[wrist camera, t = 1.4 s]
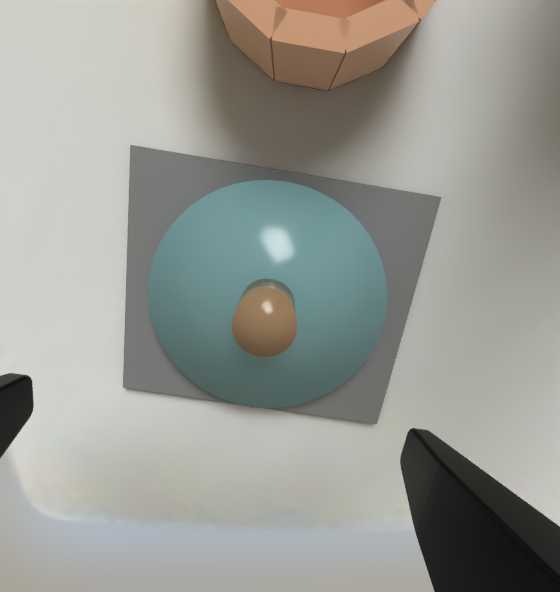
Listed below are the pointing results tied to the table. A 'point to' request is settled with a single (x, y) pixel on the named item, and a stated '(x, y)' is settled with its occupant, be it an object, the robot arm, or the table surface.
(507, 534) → the robot arm
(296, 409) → the mat
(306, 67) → the bowl
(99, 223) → the table surface
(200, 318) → the lid
